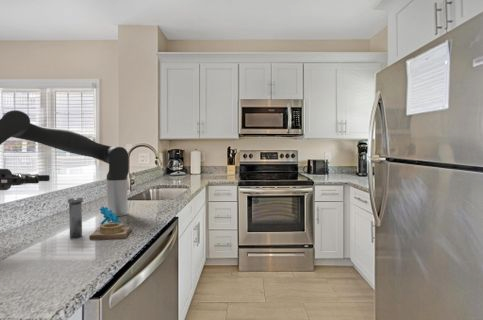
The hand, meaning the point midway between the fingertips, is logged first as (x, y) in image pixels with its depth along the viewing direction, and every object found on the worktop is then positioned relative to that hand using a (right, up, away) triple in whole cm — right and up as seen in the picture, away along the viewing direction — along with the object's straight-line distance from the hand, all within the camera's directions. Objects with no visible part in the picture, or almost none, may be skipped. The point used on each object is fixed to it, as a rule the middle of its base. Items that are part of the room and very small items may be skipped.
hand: (44, 179), depth 111 cm
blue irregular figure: (+14, -21, +23) cm, 34 cm away
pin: (+10, -21, +3) cm, 24 cm away
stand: (+22, -21, +6) cm, 31 cm away
